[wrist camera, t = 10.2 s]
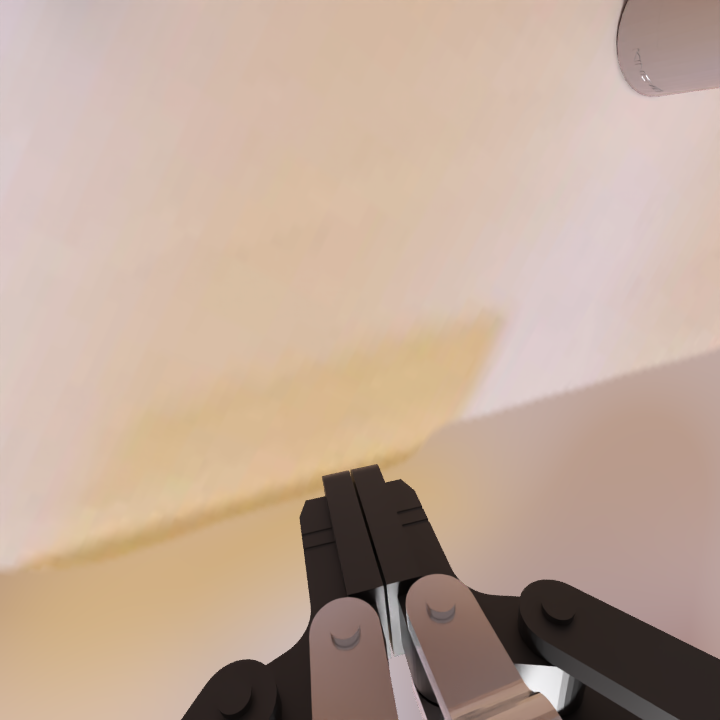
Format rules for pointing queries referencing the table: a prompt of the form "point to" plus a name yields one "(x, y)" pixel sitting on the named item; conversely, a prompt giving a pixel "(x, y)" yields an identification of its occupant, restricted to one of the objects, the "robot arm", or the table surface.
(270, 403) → the table surface
